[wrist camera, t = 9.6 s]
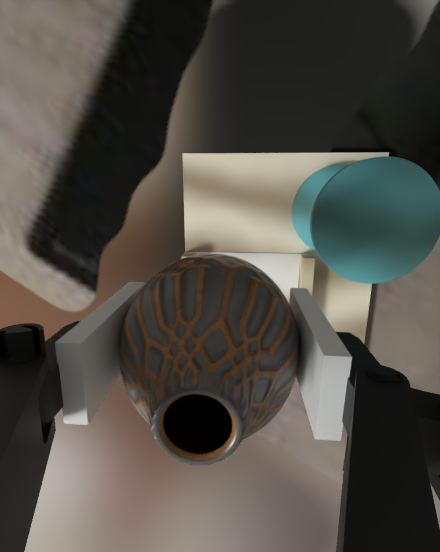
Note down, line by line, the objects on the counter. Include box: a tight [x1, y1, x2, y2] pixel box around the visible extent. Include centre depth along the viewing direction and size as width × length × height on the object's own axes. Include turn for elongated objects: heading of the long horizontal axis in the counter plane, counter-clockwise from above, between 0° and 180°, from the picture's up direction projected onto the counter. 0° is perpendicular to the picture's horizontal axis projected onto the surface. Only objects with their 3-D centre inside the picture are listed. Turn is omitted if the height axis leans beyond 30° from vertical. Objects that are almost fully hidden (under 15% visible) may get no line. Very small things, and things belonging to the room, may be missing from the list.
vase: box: [119, 253, 300, 465], centre depth 13 cm, size 7×7×9 cm
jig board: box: [182, 152, 440, 344], centre depth 28 cm, size 20×18×11 cm
